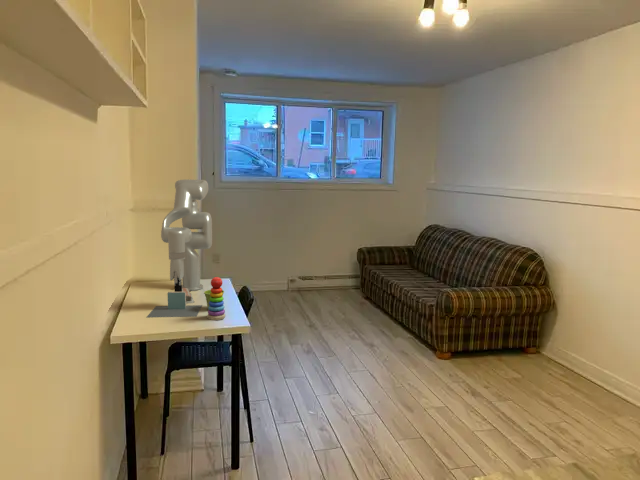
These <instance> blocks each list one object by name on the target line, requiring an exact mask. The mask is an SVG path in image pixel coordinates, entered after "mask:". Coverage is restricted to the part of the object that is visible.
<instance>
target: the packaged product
mask: <svg viewBox="0 0 640 480" xmlns="http://www.w3.org/2000/svg"><path fill="white" fill-rule="evenodd" d="M182 292H186V305H187V304H194V303H195V299H194V297H193V295H192V293H191V291H189V290H188V288H182Z"/></svg>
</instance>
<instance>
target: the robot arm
mask: <svg viewBox="0 0 640 480" xmlns="http://www.w3.org/2000/svg"><path fill="white" fill-rule="evenodd" d="M174 189H175V195H174V202H173V203H174V204H173V208H172V210H170V211H169V212H168V213H167V214H166V216H165V217H164V218H163V220H162V225H161V230H160V231H161V232H160V233H161V234H160V238H161V240H162V242H163V243H165V244H166V243H167V244H168V260H169V261H170V262H169V263H170V264H169V267H170V268H169V280H170V281H173V284H174V285H173V287H174V288H173V289H174V292H182V288H188V290H189V292H193V291H199V290H202V289H203V288H204V285H203V284H201V268H200V266H201V265H200V256H199V254H198V252H197V251H196V250H209V249H211V248H212V245H213V219H212V215H211V213H210V212H207V211H199V204H198V201H202V200H204V199H205V198H206V197H207V195H208V193H209V183H208V181H207V180H205V179H178V180H177V181H175V182H174ZM180 219H181V224H182V227H177V226H176V227H173V226H172V227H170V226H171V225H172V223H174V222H175V221H177V220H180ZM192 230H202V231H192Z"/></svg>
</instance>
